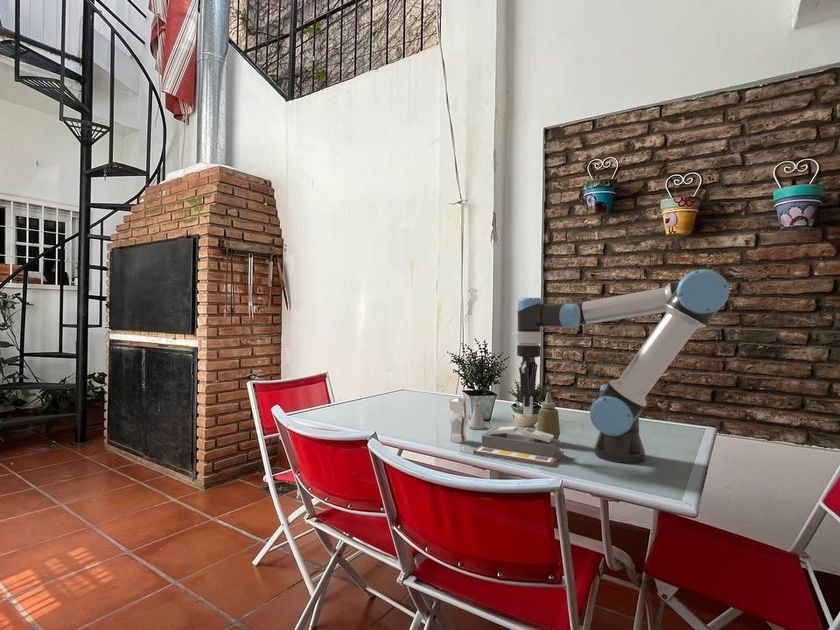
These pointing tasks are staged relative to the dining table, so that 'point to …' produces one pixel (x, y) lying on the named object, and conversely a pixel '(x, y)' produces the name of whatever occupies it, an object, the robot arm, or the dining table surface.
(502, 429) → the far switch
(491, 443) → the switch box
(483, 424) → the flask
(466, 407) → the beer glass
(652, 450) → the dining table surface
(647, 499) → the dining table surface
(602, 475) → the dining table surface
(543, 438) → the near switch
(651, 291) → the robot arm
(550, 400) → the squeeze bottle
